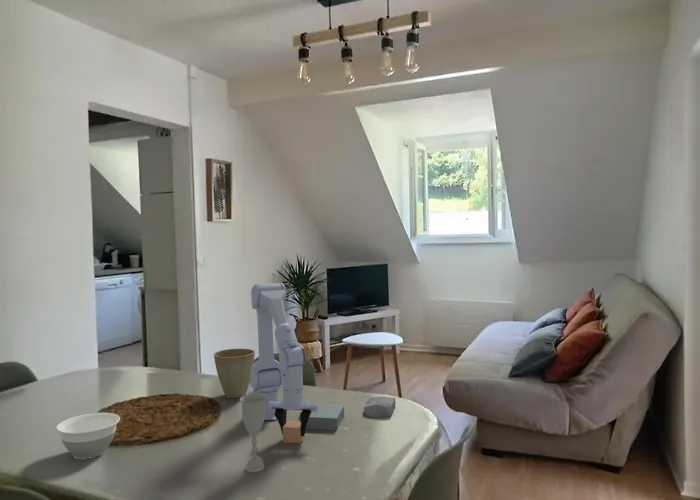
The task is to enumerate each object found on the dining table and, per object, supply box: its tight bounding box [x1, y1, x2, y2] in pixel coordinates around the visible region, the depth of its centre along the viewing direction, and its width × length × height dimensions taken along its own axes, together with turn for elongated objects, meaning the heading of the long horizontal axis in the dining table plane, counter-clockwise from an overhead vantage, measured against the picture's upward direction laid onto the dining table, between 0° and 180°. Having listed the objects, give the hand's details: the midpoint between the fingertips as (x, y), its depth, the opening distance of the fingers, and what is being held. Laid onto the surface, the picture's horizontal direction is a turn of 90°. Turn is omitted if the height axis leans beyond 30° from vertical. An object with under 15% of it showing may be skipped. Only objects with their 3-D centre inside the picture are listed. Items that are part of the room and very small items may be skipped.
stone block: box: [363, 395, 396, 418], centre depth 179 cm, size 12×5×10 cm
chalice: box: [239, 393, 267, 473], centre depth 137 cm, size 7×7×18 cm
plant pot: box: [213, 348, 256, 399], centre depth 198 cm, size 15×15×16 cm
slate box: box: [298, 403, 345, 431], centre depth 169 cm, size 12×12×4 cm
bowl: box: [55, 412, 121, 458], centre depth 148 cm, size 16×16×8 cm
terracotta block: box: [282, 420, 305, 444], centre depth 155 cm, size 5×5×4 cm
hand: (293, 434), depth 155 cm, fingers closed on terracotta block, 5 cm apart
